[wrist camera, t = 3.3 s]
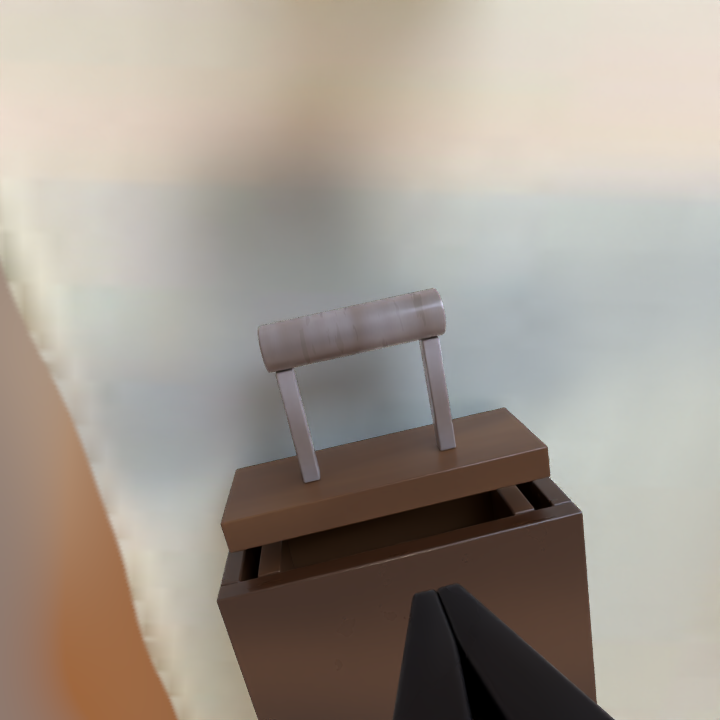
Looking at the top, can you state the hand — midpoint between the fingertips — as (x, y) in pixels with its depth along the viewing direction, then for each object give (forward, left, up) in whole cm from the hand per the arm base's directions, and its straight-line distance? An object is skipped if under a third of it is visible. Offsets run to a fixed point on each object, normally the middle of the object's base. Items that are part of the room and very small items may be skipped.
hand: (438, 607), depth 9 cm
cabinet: (-12, 0, -12) cm, 17 cm away
